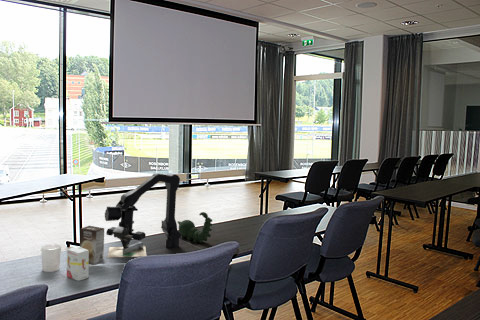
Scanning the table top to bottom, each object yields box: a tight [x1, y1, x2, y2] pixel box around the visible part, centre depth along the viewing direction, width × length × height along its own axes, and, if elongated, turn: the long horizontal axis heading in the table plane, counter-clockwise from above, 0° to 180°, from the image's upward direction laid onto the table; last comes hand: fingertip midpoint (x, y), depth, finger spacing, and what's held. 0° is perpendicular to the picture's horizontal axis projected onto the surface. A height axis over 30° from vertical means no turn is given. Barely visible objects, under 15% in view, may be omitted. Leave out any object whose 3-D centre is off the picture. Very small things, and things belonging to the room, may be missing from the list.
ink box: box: [66, 246, 90, 281], centre depth 170 cm, size 9×5×12 cm, turn 55°
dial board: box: [107, 245, 147, 259], centre depth 204 cm, size 18×17×1 cm
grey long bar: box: [123, 241, 144, 255], centre depth 204 cm, size 14×4×3 cm, turn 157°
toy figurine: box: [177, 211, 213, 244], centre depth 232 cm, size 9×19×25 cm
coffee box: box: [79, 225, 105, 266], centre depth 189 cm, size 9×6×16 cm
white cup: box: [40, 243, 62, 273], centre depth 177 cm, size 8×8×10 cm
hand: (124, 250), depth 202 cm, fingers closed
